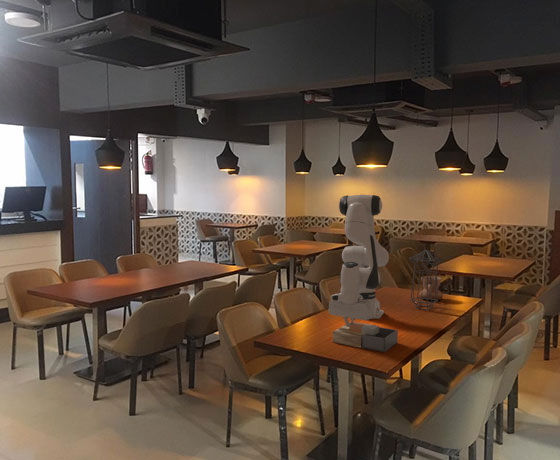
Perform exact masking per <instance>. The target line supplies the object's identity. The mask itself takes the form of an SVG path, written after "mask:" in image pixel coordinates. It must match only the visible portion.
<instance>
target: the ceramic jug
mask: <svg viewBox="0 0 560 460" xmlns="http://www.w3.org/2000/svg"><path fill="white" fill-rule="evenodd" d="M420 279H421V280H422V277H420ZM441 283H442V277H439V276H437V285H436V300H437V287H438V301H439V300H442V299H443V292H441V291H440V289H439V288H440V285H441ZM431 291H432V299H435V276H432V275H431V289H430V276H429V275H428V298H429V299H428V301H430V302H431V300H430V299H431ZM421 292H422V298H427V275H426V276H423V291H422V290H421V291H419V293H418V297H420V298H421ZM424 300H425V301H427V299H424ZM436 300H432V302H434V301H436Z"/></svg>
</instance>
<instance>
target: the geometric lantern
mask: <svg viewBox="0 0 560 460" xmlns="http://www.w3.org/2000/svg"><path fill="white" fill-rule="evenodd" d="M425 255H427V258H426V257H425ZM409 260H410V262H412V263H413V274H412V275H413V276H412V284H411V292H410V293H411V294H410V301H411V302H412V303H413V304H415V305H414V306H415V309H418V310H424V311H430V310H432V309H433V308H434V305H435V304H436V303H438V302H439V300H438V290H439V288H438V287H437V300H436V285H437V277H438V271H439V270H438V268H439V264H440V262H441V261H442V260H443V258H441V257H440V256H438V255H437V254H435V253H433V252H431V251H430V250H428V249H424V250H422V251H421V252H418V253H417V254H415V255H413V256H411V257H409ZM419 262H421V264H419ZM424 262H425V263H424ZM431 262H432V263H431ZM428 265H432V267H431V269H430V270H427V267H428ZM421 266H422V267H423V269H420V267H421ZM434 267H436V270H435V268H434ZM417 268H418V270H416V269H417ZM423 272H424V273H423ZM416 273H418V286H417V296H416V297H414V294H415V275H416ZM424 274H426V276H427V298H422V292H421V291H423V290H424V286H423V277H424ZM432 274H435V276H434V277H435V299H432V291H431V299H430V300H431V301H430V300H428V299H429V298H428V276H429V275H430V289H431V276H432ZM421 275H422V276H421ZM421 278H422V279H421ZM420 279H421V291H420ZM420 292H421V297H420V296H419V293H420ZM416 299H417V300H416ZM425 299H427V300H426V301H423V300H425ZM432 300H436V301H432ZM429 301H430V302H429ZM416 302H417V303H416ZM424 304H426V305H424ZM421 307H426V308H421Z"/></svg>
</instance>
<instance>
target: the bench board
mask: <svg viewBox="0 0 560 460" xmlns="http://www.w3.org/2000/svg"><path fill="white" fill-rule="evenodd" d="M363 335H368V334H363ZM332 343H335V344H340V345H345V346H350V347H355V348H361V349H362V333H357V332H351V331H349V327H347V326H346V324H344V325H342V326H340V327H339V328H337V329H335V330H333V331H332Z"/></svg>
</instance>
